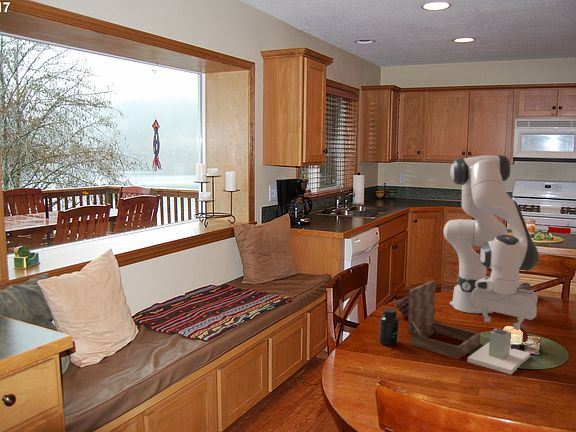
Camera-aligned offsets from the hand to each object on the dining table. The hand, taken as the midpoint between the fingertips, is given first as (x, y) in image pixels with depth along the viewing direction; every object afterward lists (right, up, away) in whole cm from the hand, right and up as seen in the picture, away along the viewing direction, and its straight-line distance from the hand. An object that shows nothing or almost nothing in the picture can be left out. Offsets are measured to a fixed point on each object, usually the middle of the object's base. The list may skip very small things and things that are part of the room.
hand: (501, 325), depth 171 cm
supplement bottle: (-34, -10, +16) cm, 39 cm away
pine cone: (-20, -6, +41) cm, 46 cm away
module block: (0, -10, +1) cm, 10 cm away
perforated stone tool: (+37, -3, +68) cm, 77 cm away
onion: (+11, -10, +12) cm, 20 cm away
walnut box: (-15, -10, +14) cm, 22 cm away
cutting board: (0, -12, +1) cm, 12 cm away
